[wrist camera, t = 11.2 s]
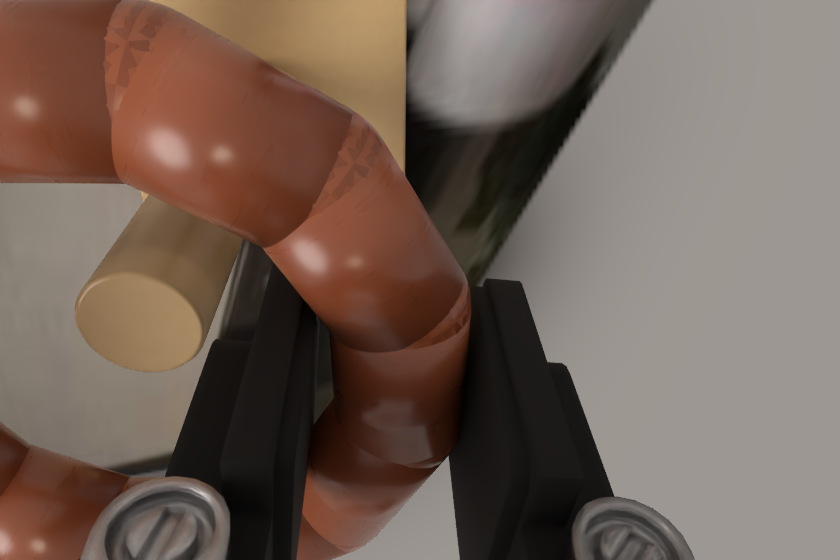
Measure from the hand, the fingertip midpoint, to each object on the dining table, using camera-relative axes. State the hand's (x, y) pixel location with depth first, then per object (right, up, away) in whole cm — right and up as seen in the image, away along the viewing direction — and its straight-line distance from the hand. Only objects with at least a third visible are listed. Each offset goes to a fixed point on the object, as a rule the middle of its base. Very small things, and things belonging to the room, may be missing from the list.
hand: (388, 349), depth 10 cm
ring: (-4, 0, -1) cm, 4 cm away
